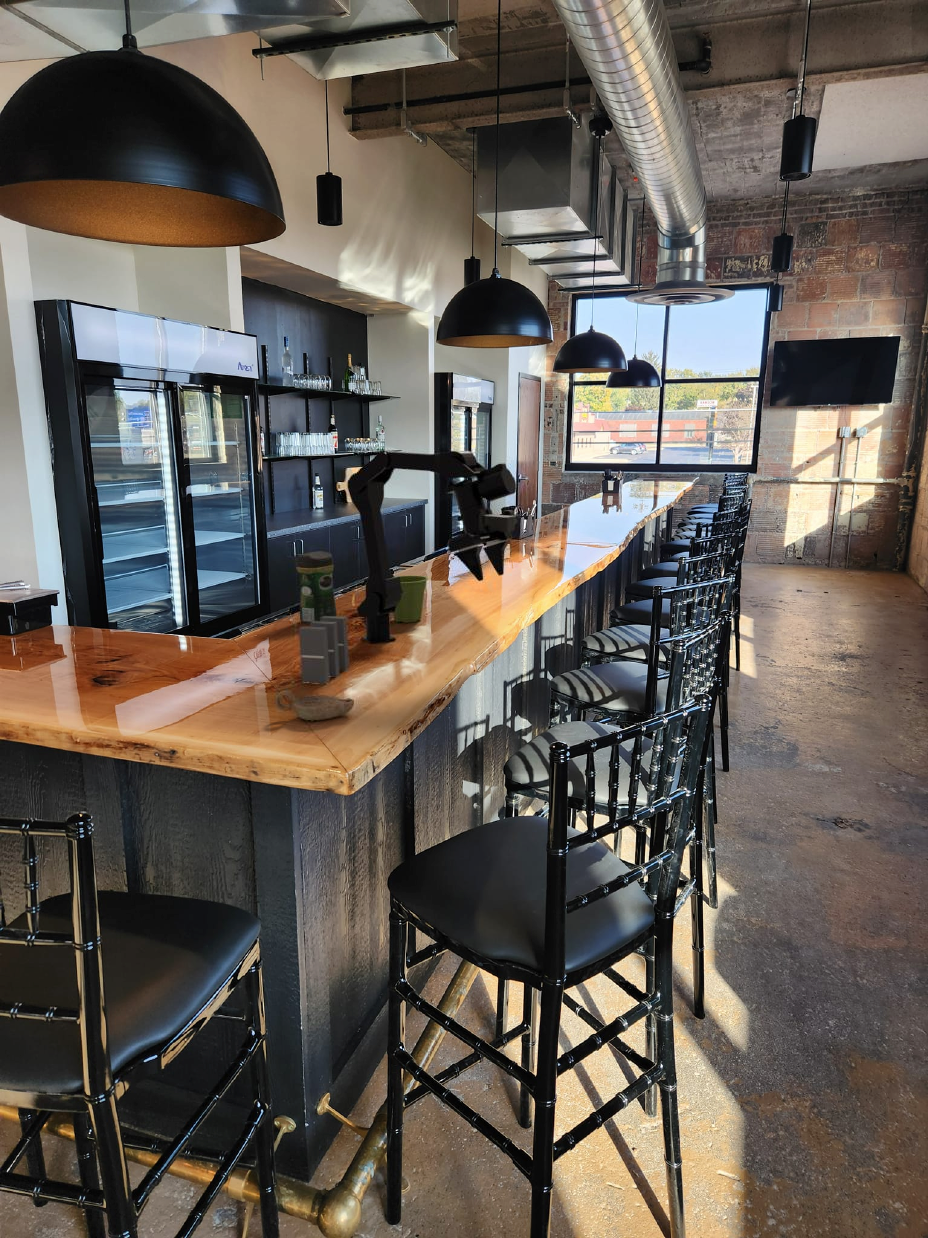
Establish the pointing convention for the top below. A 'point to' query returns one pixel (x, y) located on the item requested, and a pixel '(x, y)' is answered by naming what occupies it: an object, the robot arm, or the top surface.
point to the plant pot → (410, 599)
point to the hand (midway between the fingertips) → (491, 577)
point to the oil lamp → (316, 706)
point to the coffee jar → (316, 586)
